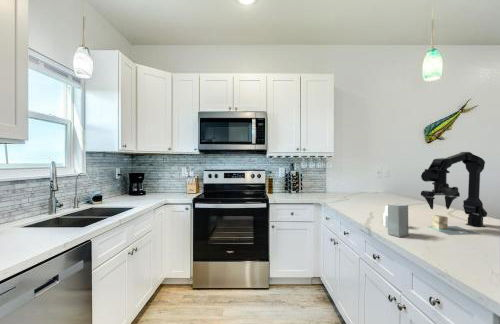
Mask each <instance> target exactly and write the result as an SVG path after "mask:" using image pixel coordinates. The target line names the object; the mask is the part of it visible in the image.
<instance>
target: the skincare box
mask: <svg viewBox="0 0 500 324" xmlns="http://www.w3.org/2000/svg"><path fill="white" fill-rule="evenodd" d="M387 206H388V228H387V234H388V235H390V236H394V237H397V238H401V237H405V236H409V204H401V203H392V204H391V203H389V204H387Z"/></svg>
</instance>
